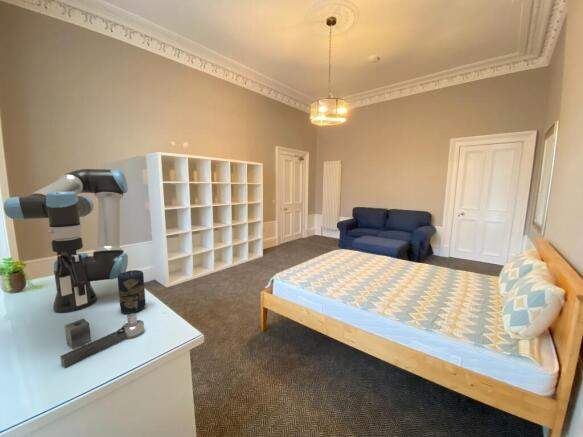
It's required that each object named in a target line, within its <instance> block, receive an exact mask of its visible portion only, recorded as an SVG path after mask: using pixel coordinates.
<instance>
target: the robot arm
mask: <svg viewBox="0 0 583 437" xmlns="http://www.w3.org/2000/svg"><path fill="white" fill-rule="evenodd" d="M126 193H128V183H127V178H126V177H125V174H124V172H123V171H122V170H119V169H103V168H102V169H101V168H97V169H96V168H95V169H94V168H83V169H77V170H73V171H70V172H66V173H64V174H62V175H59V176H58V177H57V179H56V180H55V181H53V182H52V183H50V184H48V185H47V186H44V187H42V188H40V189H38V190H37V191H34V192H32V193H31V194H29V195H27V196H14V197H7V198H6V200H5V201H4V203H3V210H4V213H5V215H6V216H7V217H8V218H10V219H11V220H39V219H48V223H49V226H48V227H49V230H47V233H48V234H50V238H51V239H52V240H51V250H52V252H54V253H56V254H57V255H56V256H57V257H56V258H57V259H55V261H54V262H53V273H54V280H55V287H56V295H55V298H54V300H53V301H54V302H53V305H52V307H53V312H55V313H62V314H63V313H69V312H70V313H71V312H75V311H79V310H80V311H81V310H82V309H85V308H88V307H90V306H92V305H94V304H95V303H97V301H98V296H97V293H96V292H95V290H94V289H93V286H92V284H91V282H98V281H99V282H100V281H107V280H115V279H118V275H119V274H121V273H123V272H126V271H127V268H128V265H129V263H128V262H129V256H128V253H125V252H124V249H123V248H122V247H121V246H120V245H121V243H120V240H121V239H120V238H121V236H120V233H121V231H120V229H121V228H120V225H121V224H120V223H121V222H120V221H121V220H120V219H121V218H120V216H121V215H120V212H121V210H120V209H121V207H120V206H121V203H120V201H121V200H122V199H124V194H126ZM78 194H93V195H94V197H95V198H96V199H97V248H96V249H95V250H94V251H93V253H92V255H88V253H87V252H79V253H77V251H78V250H81V249H83V246H84V245H83V238H82V237H81V236H82V235H83V234H82V225H81V218H82V217H83V218H84V217H86V216H88V215H90V214H91V213H92V211H93V210H94V205H95V204H94V203H93V202H92V199H90V198H89V197H88V196H83V195H78Z"/></svg>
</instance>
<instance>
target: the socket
mask: <svg viewBox="0 0 583 437" xmlns="http://www.w3.org/2000/svg"><path fill="white" fill-rule="evenodd" d="M64 331H65V338H66V344H67V346H68V347H69V348H71V350H75V349H77V348H79V347H82V346H84V345H86V344H88V343H91V342H92V337H91V336H92V335H91V326H90V322H89V321H87V319H85V318H81V319H78V320H77V321H73V322H70V323H67V324H65V325H64Z"/></svg>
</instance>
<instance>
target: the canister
mask: <svg viewBox="0 0 583 437" xmlns="http://www.w3.org/2000/svg"><path fill="white" fill-rule="evenodd" d="M117 286H118V288H117V289H118V300H119V310H120V311H121V313H123V314H133V313H136V312H139V311H141V310H143V309H144V308H145V307H146V293H145V292H146V290H145V278H144V272H143V270H139V269H135V270H132V269H131V270H128V271H127V270H126V272H123V273H121V274H119V275H118V278H117Z"/></svg>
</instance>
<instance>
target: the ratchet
mask: <svg viewBox="0 0 583 437" xmlns="http://www.w3.org/2000/svg"><path fill="white" fill-rule="evenodd" d="M126 318H127V323H124V324H123V325H122V326H121V328H119V329H117V330H116V331H114V332H111V333H110V334H107V335H105V336H103V337H100V338H98V339H96V340H93V341H91V342H89V343H86V344H84V345H82V346H80V347H77V348H75V349H72V350H70V351H68V352H66V353H63V354H61V355H60V363H61V366H62V367H63V368H64V369H66V368H68V367H71V366H72V365H75V364H78V363H79V362H81V361H83V360H86V359H88V358H90V357H92V356H94V355H96V354H98V353H100V352H102V351H104V350H106V349H108V348H111V347H112V346H115V345H117V344H118V343H121V342H123V341H125V340H131V339H136V338H137V337H140V336H141V335H143V334H144V333H145V325H144V324H145V323H144V321H143V320H140V319H138V316H137V314H136V313H135V312H133V313H129V314H128V315H127V316H126Z"/></svg>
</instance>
